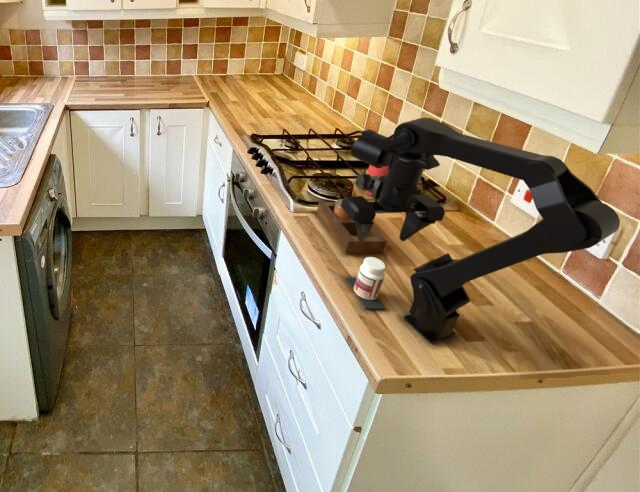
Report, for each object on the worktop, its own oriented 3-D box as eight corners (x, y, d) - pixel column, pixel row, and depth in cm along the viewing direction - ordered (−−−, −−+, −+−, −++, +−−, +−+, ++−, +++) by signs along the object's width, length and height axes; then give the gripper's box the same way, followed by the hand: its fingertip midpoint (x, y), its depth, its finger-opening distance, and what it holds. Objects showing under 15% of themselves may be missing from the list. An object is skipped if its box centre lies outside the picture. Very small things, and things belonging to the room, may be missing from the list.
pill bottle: (369, 284, 93) (379, 255, 90) (381, 300, 89) (392, 270, 85) (348, 284, 93) (358, 255, 90) (360, 301, 89) (370, 271, 85)
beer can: (383, 188, 131) (393, 155, 126) (388, 200, 125) (400, 165, 120) (360, 186, 132) (369, 152, 127) (365, 196, 127) (375, 162, 122)
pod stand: (348, 213, 119) (352, 201, 117) (382, 254, 103) (387, 241, 101) (315, 213, 119) (318, 202, 117) (344, 254, 103) (348, 241, 101)
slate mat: (384, 309, 87) (384, 308, 87) (365, 309, 87) (365, 308, 87) (363, 278, 95) (363, 277, 95) (345, 278, 95) (346, 277, 95)
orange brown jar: (354, 227, 113) (360, 208, 110) (339, 230, 112) (344, 211, 109) (341, 217, 117) (346, 198, 114) (326, 220, 116) (331, 200, 113)
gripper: (420, 159, 90) (399, 217, 97) (336, 160, 89) (321, 219, 96) (459, 185, 80) (432, 249, 87) (365, 187, 79) (345, 251, 86)
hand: (380, 240), depth 89 cm, fingers open, 9 cm apart
